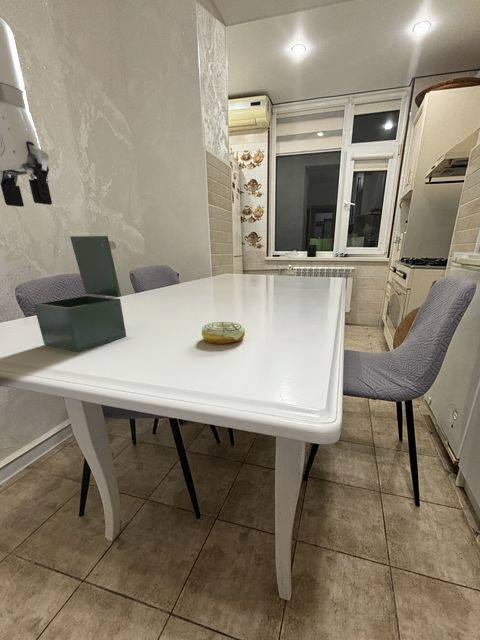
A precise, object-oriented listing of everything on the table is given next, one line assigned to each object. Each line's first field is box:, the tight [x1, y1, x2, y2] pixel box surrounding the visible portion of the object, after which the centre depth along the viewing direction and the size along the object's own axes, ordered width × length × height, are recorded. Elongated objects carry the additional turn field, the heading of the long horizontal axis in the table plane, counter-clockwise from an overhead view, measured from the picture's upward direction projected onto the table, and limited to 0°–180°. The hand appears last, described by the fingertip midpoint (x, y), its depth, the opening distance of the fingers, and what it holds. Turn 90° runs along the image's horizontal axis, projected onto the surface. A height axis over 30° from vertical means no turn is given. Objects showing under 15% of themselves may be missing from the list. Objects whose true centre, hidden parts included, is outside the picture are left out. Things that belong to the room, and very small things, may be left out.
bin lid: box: [69, 235, 122, 298], centre depth 73 cm, size 14×12×5 cm
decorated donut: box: [201, 321, 246, 345], centre depth 73 cm, size 10×11×4 cm
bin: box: [33, 294, 127, 353], centre depth 70 cm, size 13×12×10 cm
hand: (28, 204), depth 60 cm, fingers open, 9 cm apart
